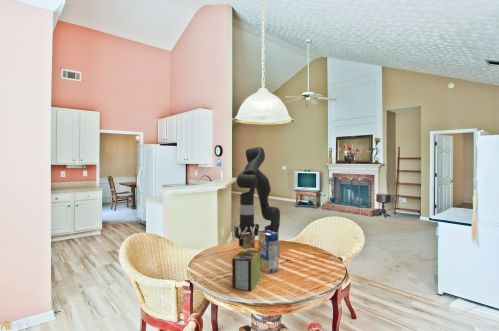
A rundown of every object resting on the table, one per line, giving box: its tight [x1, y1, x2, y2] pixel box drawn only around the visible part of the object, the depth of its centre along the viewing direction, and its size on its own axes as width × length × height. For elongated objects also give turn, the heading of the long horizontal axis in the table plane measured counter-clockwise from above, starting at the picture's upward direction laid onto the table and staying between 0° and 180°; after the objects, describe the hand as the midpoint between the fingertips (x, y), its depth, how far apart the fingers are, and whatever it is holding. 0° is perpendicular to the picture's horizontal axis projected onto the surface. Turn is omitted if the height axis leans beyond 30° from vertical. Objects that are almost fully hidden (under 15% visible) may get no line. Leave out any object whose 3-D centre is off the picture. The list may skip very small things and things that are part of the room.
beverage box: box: [257, 229, 279, 275], centre depth 165 cm, size 7×11×22 cm, turn 29°
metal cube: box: [238, 232, 256, 250], centre depth 146 cm, size 6×6×6 cm
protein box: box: [231, 248, 261, 292], centre depth 147 cm, size 10×15×16 cm
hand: (246, 244), depth 146 cm, fingers closed on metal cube, 6 cm apart
